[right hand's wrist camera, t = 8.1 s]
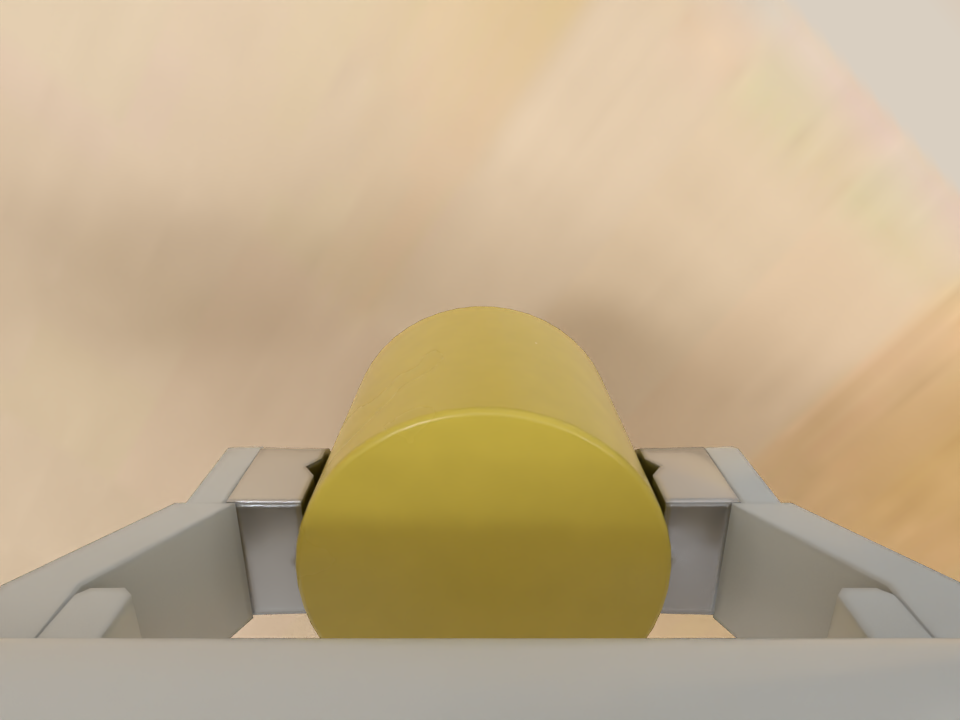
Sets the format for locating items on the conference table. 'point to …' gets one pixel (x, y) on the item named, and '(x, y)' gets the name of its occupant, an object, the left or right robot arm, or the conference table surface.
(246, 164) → the conference table surface
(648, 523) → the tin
